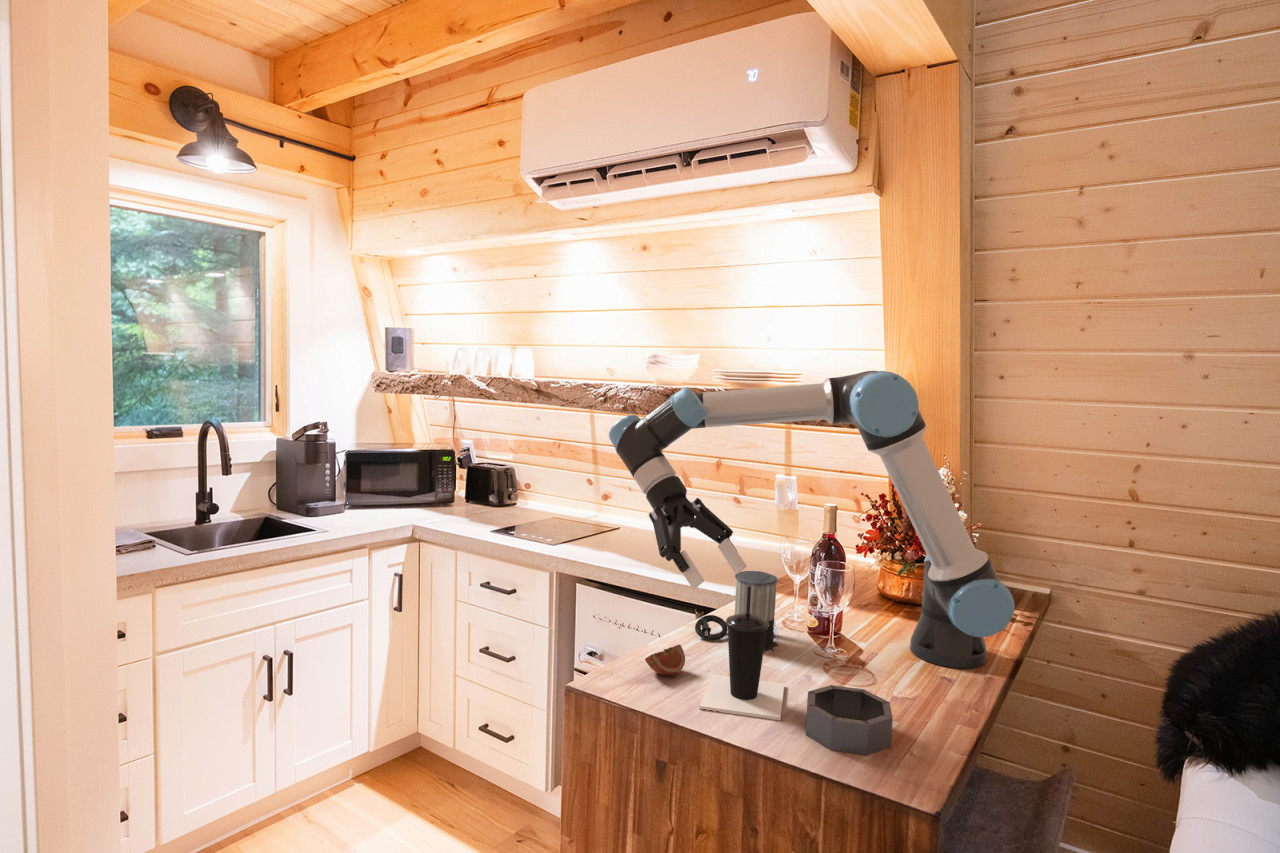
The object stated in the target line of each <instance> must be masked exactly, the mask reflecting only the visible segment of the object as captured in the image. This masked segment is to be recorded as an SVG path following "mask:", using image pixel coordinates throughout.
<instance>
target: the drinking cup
mask: <svg viewBox="0 0 1280 853" xmlns="http://www.w3.org/2000/svg"><path fill="white" fill-rule="evenodd" d="M750 600H751V587H747V604H746V613H740V614H736V615H735V614H731V615H730V616H728V617H727V618H726V620H725V622H726V624H727V625H728V627H727V628H728V630H727V641H728V642H727V643H728V665H729V667H728V668H729V676H730V692H731V695H732V696H733V697H735V698H738V699H742V700H751V699H754V698H756V697H757V693H758V686H759V680H760V679H761V678H760V677H761V673H762V672H761V671H762V666H763V659H764V658H763V657H764V652H765V650H764V646H765V639H766V632H767V628H768V627H769V622H768V621H767V620H766V619H764V618H762V617H760V616H757V615H755V614H751V613H750Z"/></svg>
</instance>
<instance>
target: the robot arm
mask: <svg viewBox="0 0 1280 853" xmlns="http://www.w3.org/2000/svg"><path fill="white" fill-rule="evenodd" d="M919 407H920V406H919V398H918V395H917V392H916V391H915V388H914V387H913V386H912V384H911V383H910V382H909V381H908V380H906V379H905V378H904V377H902V376H901V375H899V374H898V373H895V372H892V371H885V370H880V371H879V370H867V371H861V372H858V373H855V374H854V373H853V374H849V375H844V376H836V377H827V378H826V379H825V380H823V381H822V383H811V384H800V385H799V384H798V385H797V384H796V385H784V386H783V385H782V386H773V387H772V386H771V387H761V388H746V389H734V390H733V389H732V390H722V391H708V392H700V393H699V392H696V393H695V392H694V391H693V390H692V389H691V388H690V387H682V389H680V390H679V391H676V392H675V393H673V394H672V395H670V396H669V397H668V398H667V399H666V400H665V401H663V402H662V403H661V404H660V405H658V406H657V407H655V409H653V410H652V411H651V412H650V413H648V414H647V415H646V416H644V417H642V418H640V417H639V416H638V415H636V414H627V415H626V416H624V417H623V418H620V419H618V420H617V421H616V422H615V423H613V425H612V426H611V427H610V429H609V431H608V438H609V440H610V442H611V443H612V446H613V447H614V449H615V452H616V454H617V455H618V456H619V458H620V459H621V461H622V462H623V464H624V465H625V467H626V468H627V470H628V471H629V473H630V474H631V476H632V477H633V479H634V481H635V482H636V484H637V485H638V487H639V488H640V490H641V492H642V493H643V494H644V495H645V497H646V500H647V501H648V503H649V505H650V506H651V507H652V510H651V511H650V512H649V513H648V517H649V519H650V520H651V522H652V524H653V525H652V526H653V530H654V534H655V538H656V544H657V548H658V553H659V556H660V557H661V558H665V560H666V561H668V562H670V561H672V560H673V562H674V564H675V565H676V567H677V569H678V571H679V572H680V573H682V575H683V576H684V578H685V579H686V581H687V583H688V584H689V585H690V587H691V589H692V590H695V589H697V588H698V587H699V586H700V585H702V584H703V583H704V582H705V579H704V577H703V576H702V575H701V573H700V571H699V570H698V569H697V566H696V565H695V563H694V562H693V560H692V558H691V557H690V555H689V554H688V553H687V551H686V550H682V538H681V537H682V531H681V530H682V529H681V528H687V527H689V528H691V529H696V530H697V531H699V532H701V533H702V534H703V535H704V536H706V537H708V538H710V539H712V540H713V541H714V542H715V543H717V544H718V545H717V548H718V550H719V551H720V553H721V555H723V557H724V559H725V560H726V562H727V564H728V565H729V566H730V568H731V570H732V571H733V573H734V574H735V575H736V574H738V573H740V572H743V570H744V569H745V568H747V564H746V562H745V561H744V560H743V558H742V557H741V555H740V554H739V552H738V550H737V548H736V547H735V545H734V543H733V542H732V541H731V539H730V537H732V536H733V533H734V531H733V529H731V528H730V526H728V525H727V524H726V523H725V522H724V521H723V520H721V519H720V518H719V517H718V516H717V515H716V514H715V513H713V511H711V509H709V508H708V507H707V506H706V505H705V504H704V502H703V501H702V500H701V499H700V498H699V497H697V498H695V499H694V500H693V501H690V500H689V499H688V498H687V493H688V490H687V488H686V486H685V485H684V483H683V482H682V480H681V479H680V477H679V476H677V472H676V471H675V469H674V468H673V466H672V464H670V462H669V461H668V458H666V456H665V454H664V453H663V450H665V449H666V448H668V447H669V446H670V445H671V444H673V443H674V442H675V441H677V440H678V439H679V438H681V437H683V436H684V435H685V434H687V433H688V432H689V431H691V430H693V429H694V430H695V429H696V430H697V429H705V428H714V427H715V428H718V427H730V426H731V427H733V426H746V425H759V424H760V425H762V424H763V425H764V424H776V423H789V422H791V423H793V422H804V421H805V422H806V421H822V420H824V421H826V422H827V423H829V424H831V425H832V424H833V425H834V424H851V425H855V426H856V427H857V430H858V432H859V434H860V436H861V438H862V441H863V443H864V444H865V446H866V448H867V450H868V452H870V453H873V454H875V455H878V456H879V458H880V459H881V462H882V463H883V464H882V465H883V466H884V467H885V470H886V472H887V474H888V476H889V478H890V480H891V483H892V485H893V487H894V489H895V490H896V492H897V494H898V497H899V499H900V501H901V503H902V505H903V508H904V510H905V513H906V514H907V516H908V518H909V520H910V522H911V524H912V527H913V528H914V531H915V533H916V534H917V537H918V539H919V541H920V544H921V545H922V547H923V550H924V552H925V559H924V561H923V562H924V571H923V572H924V573H923V587H922V599H921V600H922V602H921V613H920V617H919V619H918V621H917V623H916V626H915V627H914V630H913V633H912V634H911V636H910V637H911V638H910V641H909V642H910V643H909V644H910V646H909V650H910V651H911V653H912V654H913V655H914V656H915V657H917V658H919V659H921V660H923V661H926V662H929V663H930V664H934V665H939V666H941V667H947V668H952V669H953V668H954V669H955V668H956V669H973V668H980V667H982V666H984V665H985V664H986V663H987V655H988V650H987V646H986V642H985V641H986V640H985V638H987V637H991V636H994V635H996V634H998V633H1000V632H1002V631H1003V630H1004V629H1006V628H1007V627H1008V625H1009V624H1010V623H1011V620H1012V618H1013V617H1014V614H1015V601H1014V600H1015V599H1014V597H1013V595H1012V593H1011V591H1010V589H1009V588H1008V587H1007V585H1005V584H1004V583H1002V582H1001V580H1000V578H999V576H998V573H997V572H996V570H995V568H994V566H993V563H992V562H991V559H990V557H989V555H988V553H987V552H985V551H984V550H983V551H982V550H980V549H977V548H976V547H975V545H974V544H973V541H972V539H971V537H970V535H969V533H968V531H967V528H966V527H965V524H964V522H963V520H962V518H961V516H960V514H959V511H958V509H957V508H956V506H955V503H954V501H953V499H952V497H951V494H950V492H949V490H948V488H947V486H946V483H945V482H944V480H943V478H942V475H941V473H940V471H939V468H938V467H937V465H936V463H935V461H934V459H933V456H932V454H931V452H930V450H929V448H928V446H927V444H926V442H925V439H924V434H925V432H926V428H927V425H926V422H925V420H924V417H923V415H922V414H921V412H920V410H919Z"/></svg>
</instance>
